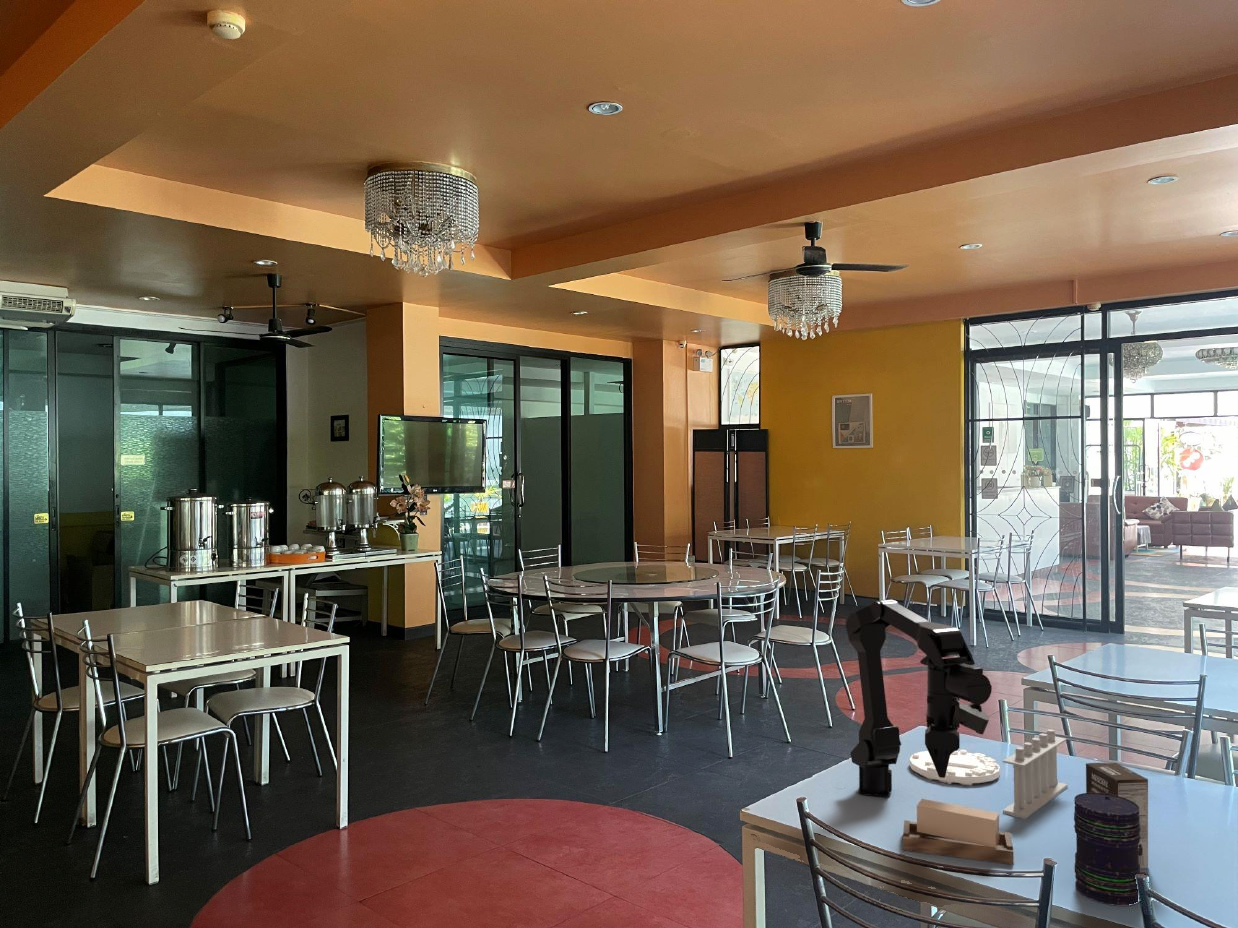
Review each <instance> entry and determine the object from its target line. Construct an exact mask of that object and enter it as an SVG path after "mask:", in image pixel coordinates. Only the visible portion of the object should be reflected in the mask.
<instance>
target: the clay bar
mask: <svg viewBox="0 0 1238 928" xmlns="http://www.w3.org/2000/svg"><path fill="white" fill-rule="evenodd" d="M916 822H917V832H921V833H926V834H931V835H936V836H940V837H945V838H950V839H955V840H960V841H965V842H969V843H974V844H979V845H984V846H989V847H994V848H996V846H997V844H998V842H999V832H1000V813H999V812H995V811H991V810H990V811H989V810H985V809H978V808H973V807H968V806H964V805H963V806H962V805H958V804H957V805H956V804H952V803H948V802H947V803H946V802H940V801H937V800H930V799H925V798H921V799H920V800H919V802H918V803H917V804H916Z"/></svg>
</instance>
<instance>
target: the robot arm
mask: <svg viewBox="0 0 1238 928" xmlns="http://www.w3.org/2000/svg"><path fill="white" fill-rule="evenodd" d="M889 627H893V628H895V629H897V630H898V631H900V632H901V633H904V634H905V635H907V636H908V637H910V638H912V639H913V640H914V641H915V642H916V645H917V648H918V649H919V650H920V651H921V652H922V653H924V655H925V657H922V659H920V661H919V662H920V664H921V665H923V666H927V669H926V670H927V672H926V673H927V676H926V677H927V678H926V679H927V680H926V681H927V685H926V686H927V687H926V688H927V690H926V691H927V692H926V693H927V694H926V714H925V715H926V716H925V717H926V722H925V723H926V729H925V730H924V745H925V747H926V750H927V751H928V752H929V754H930V756H931V759H932V761H933V764H934V766H935V768H936V771H937V773H938V776H939V777H941V778H945V775H946V771H947V767H948V762H949V758H950V755H951V754H952V753H953V752H954V751H959V750H960V747H961V746H960V745H961V743H960V741H961V739H960V733H959V732H958V730H959V728H960V726H963V727H965V728H967V729H970V730H972V731H974V732H975V733H976V734H979V735H982V736H983V735H984V733H985V731H986V728H987V727H988V724H989V721H990V716H989V715H988V714H987V712H986V711H983V709H982V705H984V704H985V703H987V701H988V700H989V699H990V697H991V694H992V689H993V688H992V687H993V685H992V684H991V682H990V681H991V680H990V679H989V678H988V677H987V675H984V669H983V667H980V666H975V664H976V663H975V659H974V658H973V654H972V653H971V650H969V647H968V644H967V642H966V641H965V639H964V637H963V635H962V634H963V633H962V632H961V630H960V629H958V628H957V627H955V626H952V625H948V624H945V623H939V622H938V623H937V622H932V621H930V620H927V619H926V618H924V617H922V615H921V616H920V615H918V614H917V613H915V612H913V611H912V610H910V609H908V608H906V607H905V606H904V605H901V604H900V603H899V602H898V601H896V600H894V599H879V600H878V599H877V600H876V601H874V602H872V603H871V604H870V605H867V606H866V607H863V608H861V609H859V610H857V611H855V612H851V613H850V614H849V615H848V617H847V618H846V621H845V630H846V632H847V637H848V641H849V643H850V645H852V647H853V648H854V649H855V651H856V653H857V659H858V668H859V669H858V670H859V678H860V686H861V697H862V705H863V715H864V716H863V717H864V718H863V721H862V724H861V726H860V728H859V731H858V743H857V744H856V746H855V747H854V748H853V749H852V750H851V752H850V759H851V763H852V764H855V765H856V766H858V786H859V787H858V791H857V793H858V795H864V796H865V795H867V796H874V797H880V798H881V797H882V798H889V797H890V793H892V791H893V771H892V769H890V766H891V765H896V764H897V761H898V758H899V755H900V752H901V746H902V742H901V738H900V729H899V726H897V725H894V724H893V723H892V722H891V720H890V719H889V715H888V706H887V698H886V690H885V689H886V688H885V681H884V670H883V663H882V656H881V651H882V649H883V646H884V645H885V642H886V640H887V629H888V628H889ZM960 700H963V701H965V702H969V704H967V703H966V704H964V703H962V702H961V701H960Z"/></svg>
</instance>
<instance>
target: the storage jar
mask: <svg viewBox="0 0 1238 928" xmlns="http://www.w3.org/2000/svg"><path fill="white" fill-rule="evenodd" d="M1073 798H1074V801H1073V802H1074V811H1073V812H1074V813H1073V821H1074V825H1073V827H1074V831H1075V832H1074V833H1075V834H1076V835H1075V836H1076V837H1075V838H1076V842H1075V843H1076V852H1075V853H1074V861H1075V862H1074V873H1075V875H1074V877H1075V881H1074V882H1075V884H1074V885H1075V889H1076V891H1077V892H1078V893H1079V894H1080V895H1082V896H1084V897H1086V898H1087V899H1090V900H1091V901H1094V902H1098V903H1101V904H1105V905H1109V904H1113V905H1112V906H1115V905H1129V904H1134V903H1136V902H1138V889H1137V884H1136V879H1135V875H1136V874H1140V875H1141V868H1140V864H1139V863H1138V844H1139V842H1140V838H1141V837H1140V817H1139V806H1138V805H1137V804H1136V803H1134V802H1132V801H1130V800H1128V799H1125V798H1122V797H1119V796H1115V795H1110V794H1103V793H1086V792H1084V793H1083V792H1082V793H1079V794H1077V795H1075V796H1074V797H1073Z"/></svg>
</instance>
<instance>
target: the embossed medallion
mask: <svg viewBox="0 0 1238 928" xmlns="http://www.w3.org/2000/svg"><path fill="white" fill-rule="evenodd" d="M909 766H910V768H911V770H913V771H914V772H915V773H917V774H919V775H921V776H923V777H924V778H926V779H928V780H931V781H933V780H937V781H939V782H940V783H945V784H949V785H951V784H953V783H958V784H960V785H961V786H962V785H964V786H965V785H966V786H973V784H981V783H982V784H983V783H987V782H993V781H995V780H997V779H999V776H1000V774H1001V773H1000V772H1001V771H1000V769H1001V766H1000V765H999V764H998V763H997V760H996V759H993V758H992V757H990V756H989V757H986V754H983V753H980V752H975V753H972V752H968V750H966V749H959V750H957V751H954V752H953V753H952V754H951V755H950V758H949V762H948V767H947V771H946V775H945V778H941V777H939V776H938V773H937V771H936V768H935V766H934V764H933V761H932V759H931V756H930V754H929V752H928V750H925V751H918V752H916V753H912V755H911V756H910V758H909Z"/></svg>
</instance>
